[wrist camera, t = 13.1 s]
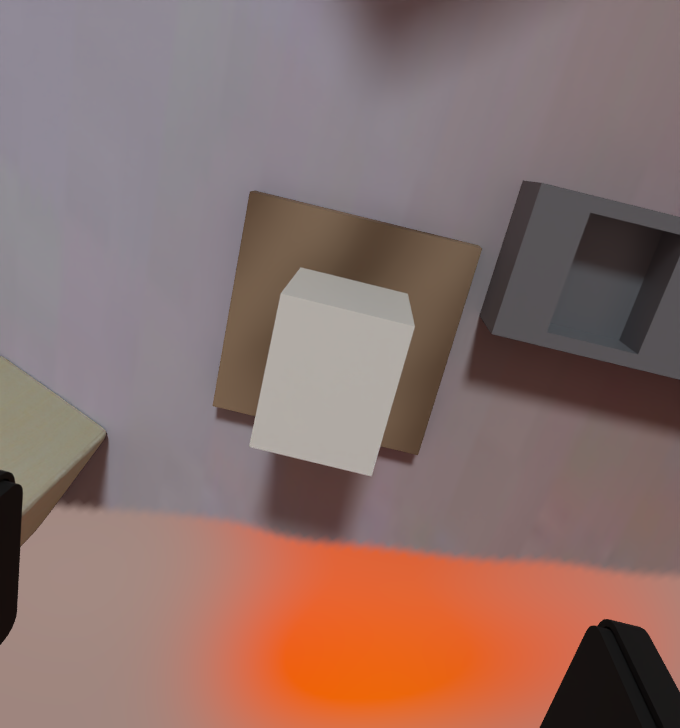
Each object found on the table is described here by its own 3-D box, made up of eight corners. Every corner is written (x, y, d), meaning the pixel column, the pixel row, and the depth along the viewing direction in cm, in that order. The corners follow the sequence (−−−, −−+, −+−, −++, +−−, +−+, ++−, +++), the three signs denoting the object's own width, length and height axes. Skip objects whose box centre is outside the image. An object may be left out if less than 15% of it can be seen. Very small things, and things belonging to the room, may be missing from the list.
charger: (405, 283, 25) (414, 326, 19) (373, 400, 27) (371, 476, 21) (306, 259, 25) (280, 293, 19) (280, 377, 27) (249, 446, 21)
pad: (478, 245, 26) (482, 248, 25) (416, 445, 29) (418, 455, 28) (254, 190, 26) (249, 191, 25) (218, 398, 29) (212, 406, 28)
